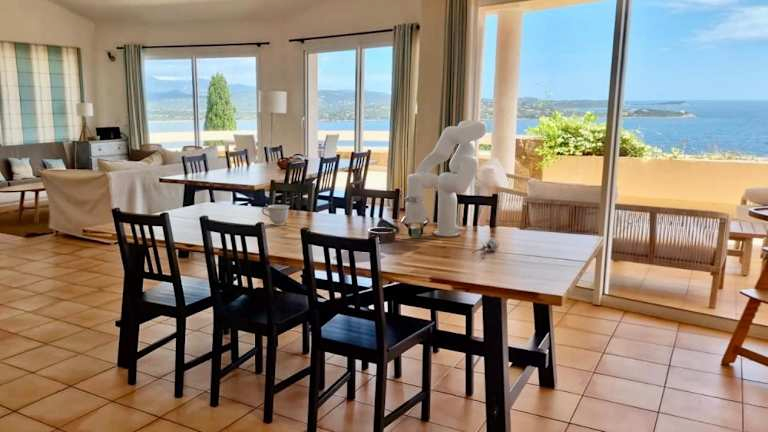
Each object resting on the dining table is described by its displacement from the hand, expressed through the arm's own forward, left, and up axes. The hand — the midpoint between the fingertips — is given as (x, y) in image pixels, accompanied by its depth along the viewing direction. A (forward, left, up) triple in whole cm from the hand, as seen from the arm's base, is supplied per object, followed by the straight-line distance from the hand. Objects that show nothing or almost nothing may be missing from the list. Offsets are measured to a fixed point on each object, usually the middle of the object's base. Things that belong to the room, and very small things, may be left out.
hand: (415, 235), depth 285 cm
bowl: (+17, +4, -1) cm, 17 cm away
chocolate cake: (+12, -16, -2) cm, 20 cm away
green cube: (0, 0, 0) cm, 0 cm away
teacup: (+72, -35, -2) cm, 80 cm away
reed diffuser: (-27, +33, -2) cm, 42 cm away
